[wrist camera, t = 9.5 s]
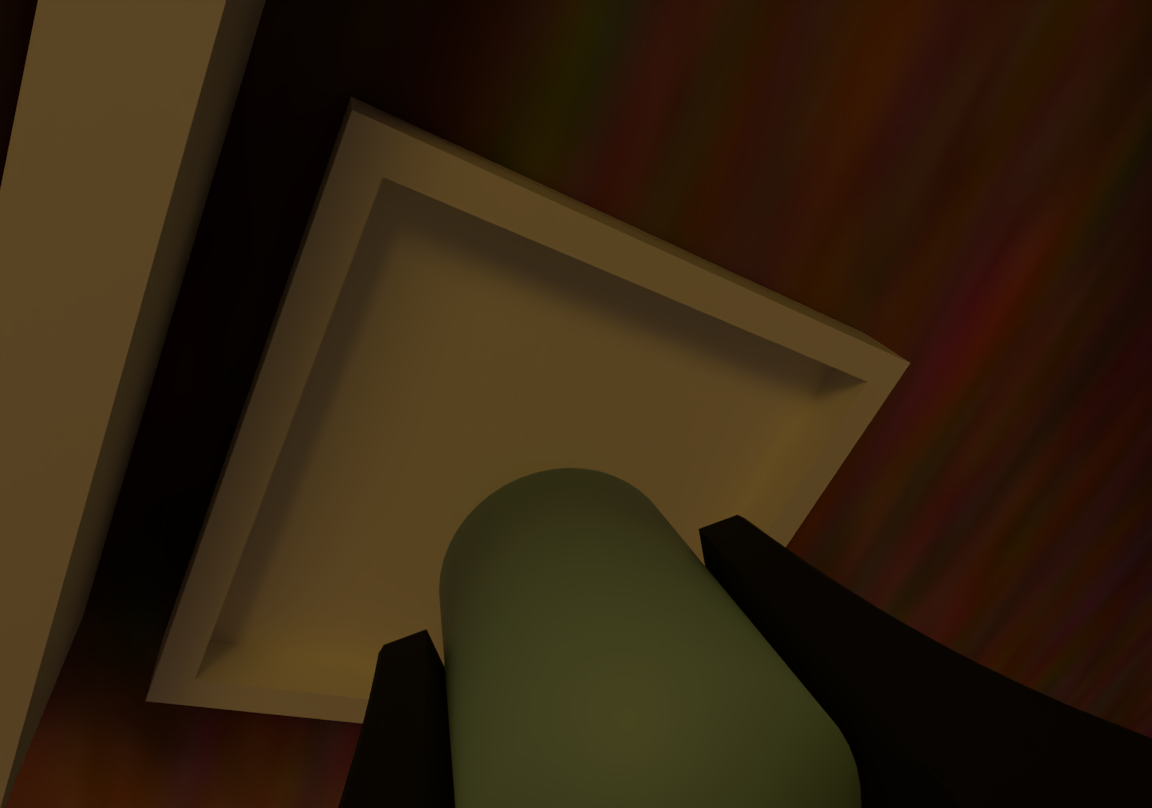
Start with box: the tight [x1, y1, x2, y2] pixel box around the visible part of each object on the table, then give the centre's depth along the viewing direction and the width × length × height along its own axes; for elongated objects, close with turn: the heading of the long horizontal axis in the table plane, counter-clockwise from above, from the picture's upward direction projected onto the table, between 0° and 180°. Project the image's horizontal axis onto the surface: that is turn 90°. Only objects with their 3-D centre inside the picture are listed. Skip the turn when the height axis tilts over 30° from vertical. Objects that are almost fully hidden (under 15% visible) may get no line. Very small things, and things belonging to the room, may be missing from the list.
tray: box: [146, 97, 910, 723], centre depth 13 cm, size 10×10×1 cm
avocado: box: [439, 468, 861, 808], centre depth 10 cm, size 4×4×6 cm
